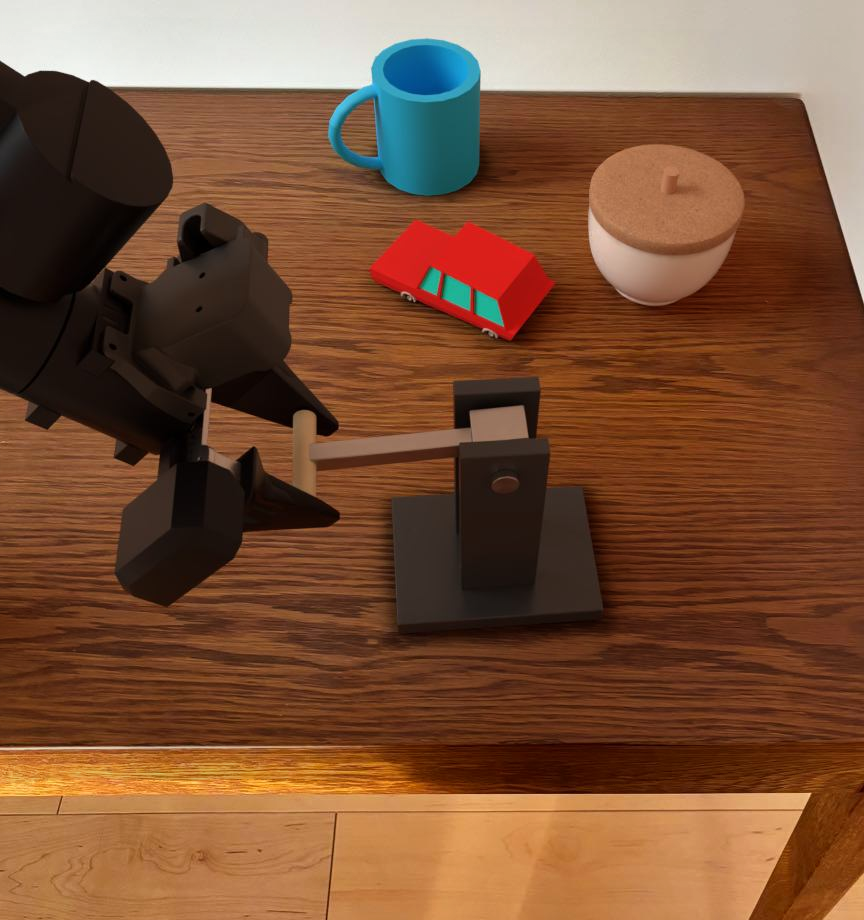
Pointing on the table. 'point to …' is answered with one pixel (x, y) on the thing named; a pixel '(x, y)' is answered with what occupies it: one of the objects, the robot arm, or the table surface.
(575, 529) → the bracket
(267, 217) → the table surface
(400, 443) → the lever
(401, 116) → the mug
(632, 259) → the trinket box
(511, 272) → the toy car
